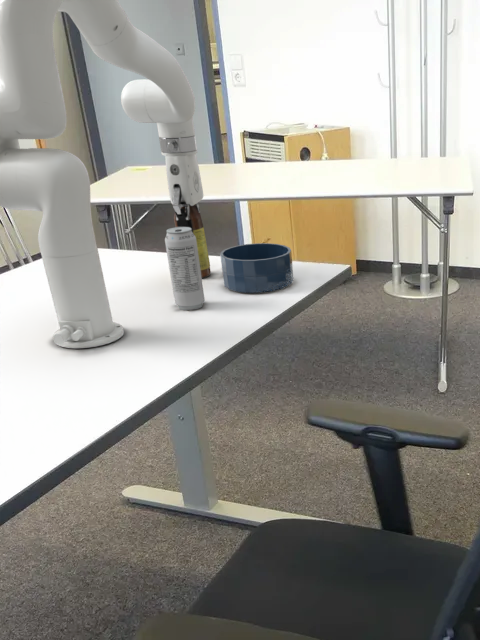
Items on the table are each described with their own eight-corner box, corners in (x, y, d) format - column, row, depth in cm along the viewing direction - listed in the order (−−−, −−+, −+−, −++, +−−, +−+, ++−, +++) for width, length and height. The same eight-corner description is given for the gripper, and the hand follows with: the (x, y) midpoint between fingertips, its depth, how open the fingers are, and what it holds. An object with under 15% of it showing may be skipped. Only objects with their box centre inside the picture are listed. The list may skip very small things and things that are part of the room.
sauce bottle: (214, 272, 179) (202, 179, 168) (207, 279, 174) (194, 184, 163) (187, 272, 180) (173, 180, 168) (179, 279, 174) (164, 185, 163)
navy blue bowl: (286, 294, 162) (284, 260, 159) (216, 294, 164) (212, 260, 160) (298, 274, 175) (296, 242, 171) (233, 275, 176) (229, 243, 172)
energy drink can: (207, 301, 160) (197, 225, 151) (202, 310, 155) (190, 232, 146) (179, 302, 160) (167, 226, 152) (172, 311, 155) (159, 233, 147)
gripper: (184, 151, 154) (197, 244, 164) (206, 140, 168) (217, 226, 178) (148, 152, 155) (163, 244, 165) (173, 141, 169) (185, 226, 179)
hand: (191, 234), depth 172 cm, fingers closed on sauce bottle, 6 cm apart
